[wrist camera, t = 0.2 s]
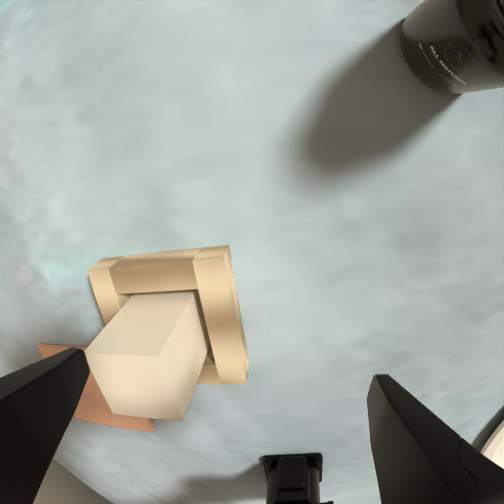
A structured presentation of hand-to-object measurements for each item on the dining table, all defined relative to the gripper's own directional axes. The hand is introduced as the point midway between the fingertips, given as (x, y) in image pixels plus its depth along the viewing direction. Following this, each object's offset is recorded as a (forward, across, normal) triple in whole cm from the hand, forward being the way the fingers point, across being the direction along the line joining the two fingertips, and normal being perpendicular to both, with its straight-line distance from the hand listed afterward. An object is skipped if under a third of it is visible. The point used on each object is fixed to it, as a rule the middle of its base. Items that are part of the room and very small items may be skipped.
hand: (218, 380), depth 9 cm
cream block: (+14, +6, +6) cm, 17 cm away
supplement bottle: (+14, -13, -14) cm, 24 cm away
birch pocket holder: (+14, +6, +6) cm, 17 cm away
